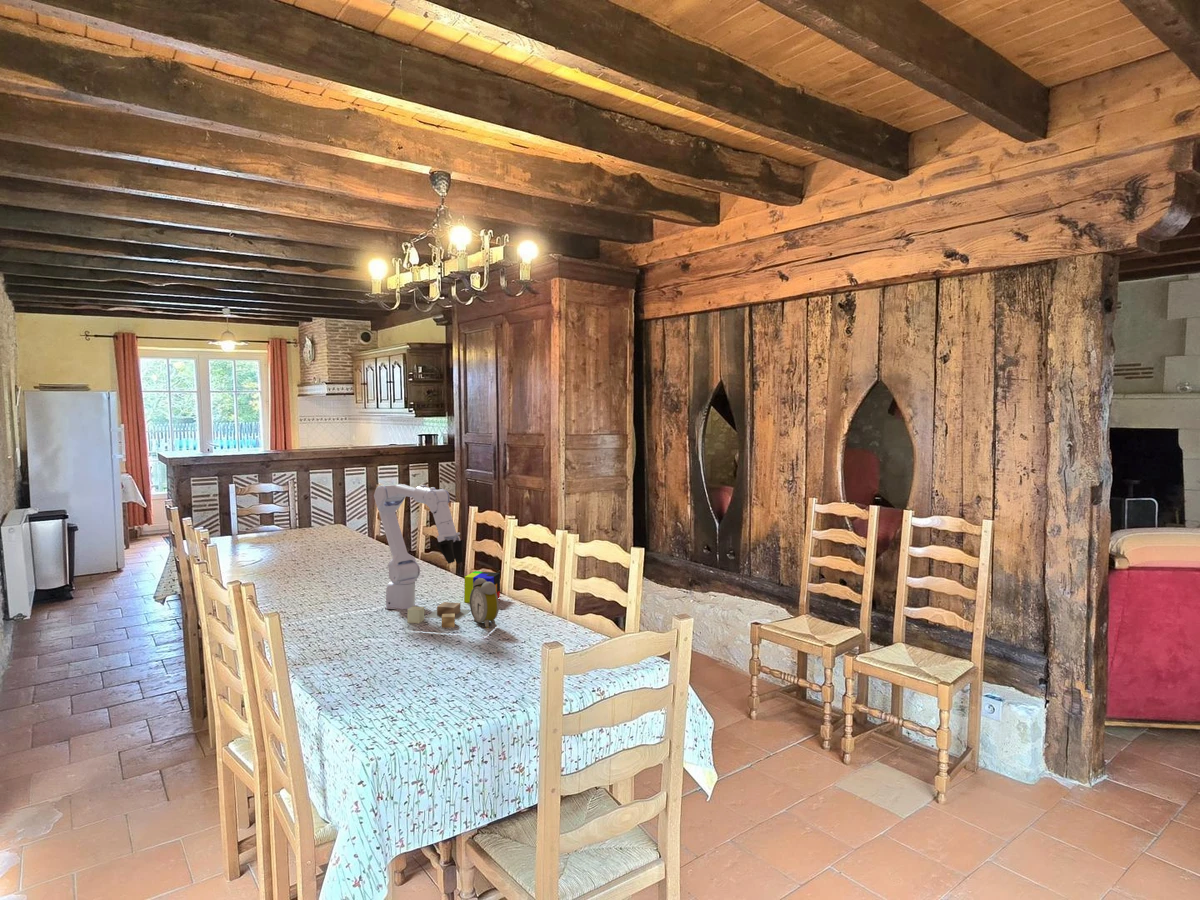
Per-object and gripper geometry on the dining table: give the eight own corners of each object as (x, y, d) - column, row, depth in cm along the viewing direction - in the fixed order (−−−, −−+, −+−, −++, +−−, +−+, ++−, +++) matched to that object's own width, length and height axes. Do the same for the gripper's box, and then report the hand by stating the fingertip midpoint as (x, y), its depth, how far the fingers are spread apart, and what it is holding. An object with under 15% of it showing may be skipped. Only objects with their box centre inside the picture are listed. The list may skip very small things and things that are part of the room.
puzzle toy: (490, 606, 254) (490, 578, 254) (464, 604, 256) (464, 576, 256) (499, 599, 264) (500, 572, 264) (474, 597, 266) (474, 571, 266)
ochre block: (441, 629, 226) (441, 617, 225) (442, 626, 229) (442, 613, 229) (454, 629, 226) (454, 616, 226) (454, 625, 230) (454, 613, 230)
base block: (437, 615, 239) (437, 606, 239) (443, 610, 245) (443, 602, 245) (453, 616, 238) (454, 607, 238) (460, 611, 244) (460, 603, 244)
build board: (424, 618, 237) (424, 617, 237) (439, 609, 248) (439, 607, 248) (459, 621, 235) (459, 619, 235) (471, 611, 246) (471, 610, 246)
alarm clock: (468, 622, 234) (469, 577, 233) (487, 619, 238) (488, 575, 237) (484, 631, 224) (484, 584, 224) (503, 628, 228) (504, 582, 227)
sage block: (407, 624, 230) (407, 609, 230) (412, 621, 234) (412, 606, 234) (418, 625, 230) (419, 610, 229) (424, 621, 233) (424, 607, 233)
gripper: (446, 518, 229) (458, 558, 226) (463, 520, 243) (474, 558, 240) (427, 525, 230) (438, 565, 227) (445, 527, 244) (456, 565, 241)
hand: (456, 562), depth 234 cm, fingers open, 7 cm apart
